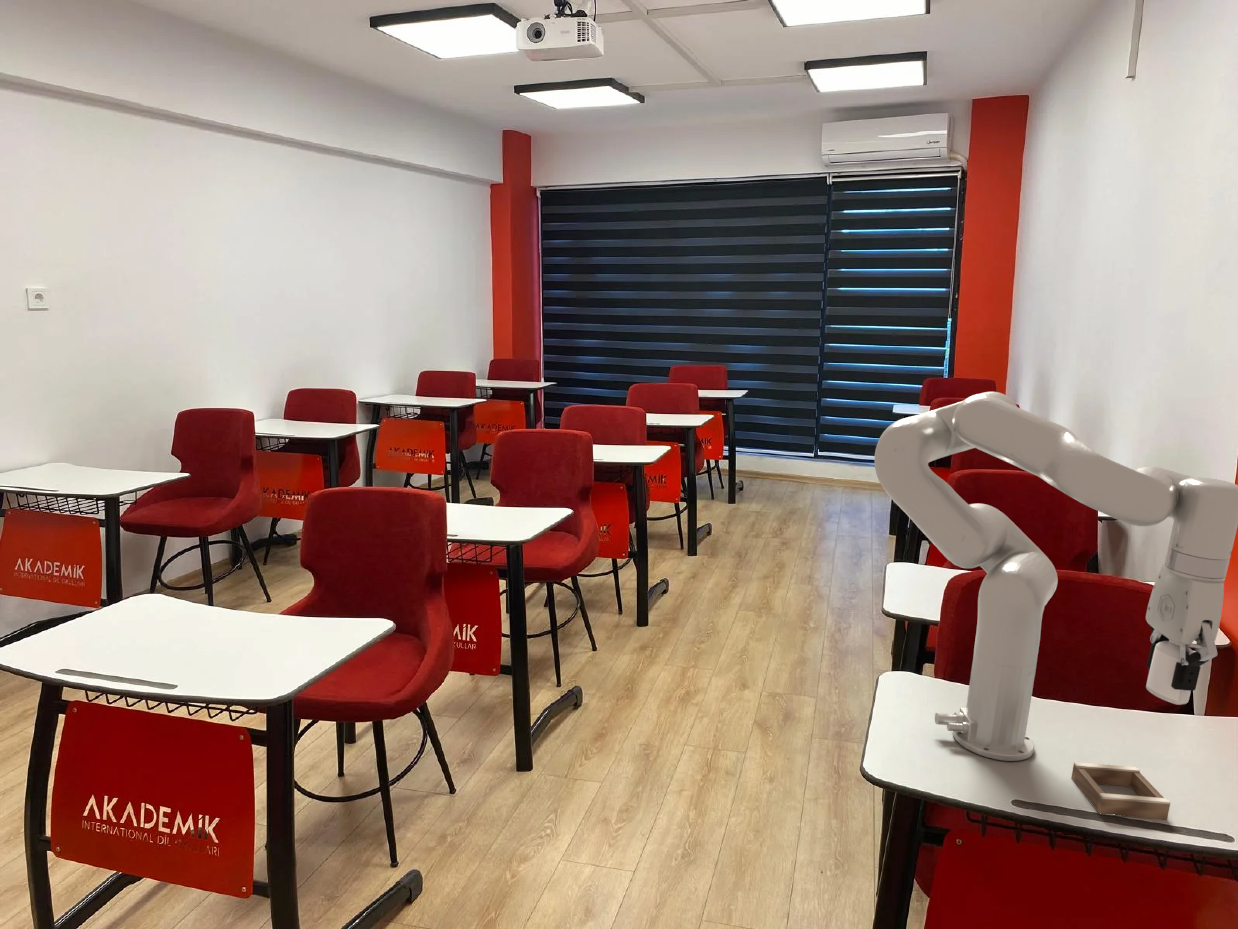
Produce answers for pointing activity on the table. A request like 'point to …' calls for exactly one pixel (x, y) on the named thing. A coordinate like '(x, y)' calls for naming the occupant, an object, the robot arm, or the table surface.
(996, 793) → the table surface
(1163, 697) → the eye dropper bottle
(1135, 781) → the walnut collar
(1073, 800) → the table surface
